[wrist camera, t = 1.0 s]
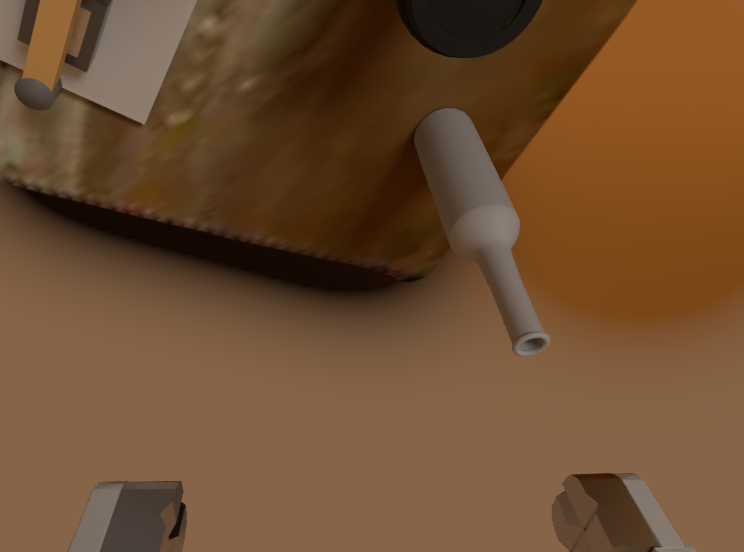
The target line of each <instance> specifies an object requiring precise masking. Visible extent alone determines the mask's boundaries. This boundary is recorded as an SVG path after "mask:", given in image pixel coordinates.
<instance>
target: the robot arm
mask: <svg viewBox="0 0 744 552" xmlns="http://www.w3.org/2000/svg"><path fill="white" fill-rule="evenodd" d="M563 486H564V489H565V491H564V492H562V493H561V494H559V495H558V496H556V499H555V500H554V503H553V505H552V521H553V526H554V529H555V532H556V535H557V537H558V540H559V541H560V542H561V543H562V544H563V545H564V546H565V547H566V548H567V549H568V550H569V551H570V552H697V551H696V550H695V549H693V548H692V547H691V546H684V545H683V544H682V542H681V540H680V539H679V537H678V535H677V534H676V532H675V531H674V529H673V527H672V526H671V524H670V523H669V521H668V519H667V518H666V516H665V515H664V513H663V511H662V510H661V508H660V506H659V505H658V503H657V502H656V500H655V498H654V497H653V495H652V493H651V492H650V490H649V488H648V487H647V485H646V484H645V482H644V480H643V479H642V478H641V477H640V476H639V475H637V474H634V473H619V474H612V473H601V474H600V473H599V474H571V475H569V476H568V477H566V479H565V481H564V482H563ZM182 495H183V487H182V482H181V481H162V482H161V481H154V482H128V481H116V482H98V484H97V485H96V486H95V488H94V489H93V490H92V492H91V495H90V497H89V500H88V502H87V505H86V507H85V510H84V512H83V514H82V517H81V520H80V522H79V524H78V527H77V529H76V532H75V534H74V536H73V539H72V541H71V544H70V546H69V549H68V551H67V552H182V549H183V544H184V540H185V532H186V524H187V512H186V505H185V504H184V503H182V502H181V500H182Z"/></svg>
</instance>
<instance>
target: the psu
mask: <svg viewBox="0 0 744 552" xmlns="http://www.w3.org/2000/svg"><path fill="white" fill-rule="evenodd" d="M112 2H113V0H82V2H81V5H80V9H79V12H78V16H77V19H76V23H75V26H74V30H73V33H72V37H71V41H70V44H69V48H68V51H67V55H66V58H65V63H67V64H69V65H71V66H74V67H76V68H78V69H80V70H82V71H84V72H86V73H87V71H88V70H89V68H90V66H91V64H92V62H93V60H94V58H95V55H96V52H97V48H98V45H99V42H100V39H101V36H102V33H103V30H104V27H105V24H106V21H107V17H108V14H109V11H110V8H111V5H112ZM39 3H40V0H26V1H25V6H24V11H23V15H22V20H21V24H20V29H19V34H18V38H17V40H18V41H21V42H23V43H25V44H27V45H29V46H30V42H31V37H32V33H33V29H34V25H35V20H36V16H37V12H38V8H39Z"/></svg>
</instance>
